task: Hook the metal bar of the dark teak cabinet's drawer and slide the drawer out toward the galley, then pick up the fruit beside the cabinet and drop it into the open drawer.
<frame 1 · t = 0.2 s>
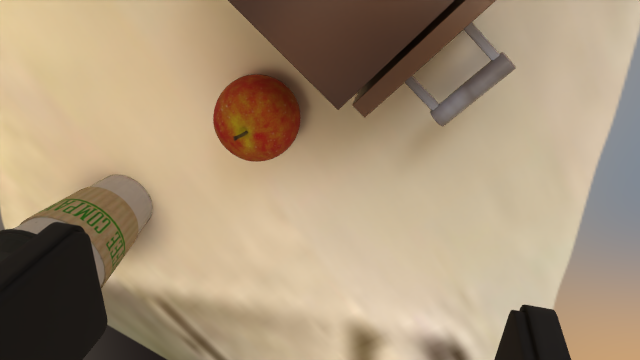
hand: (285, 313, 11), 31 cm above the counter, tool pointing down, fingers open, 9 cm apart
fruit: (271, 103, 42), on the counter
coffee cup: (126, 199, 51), on the counter
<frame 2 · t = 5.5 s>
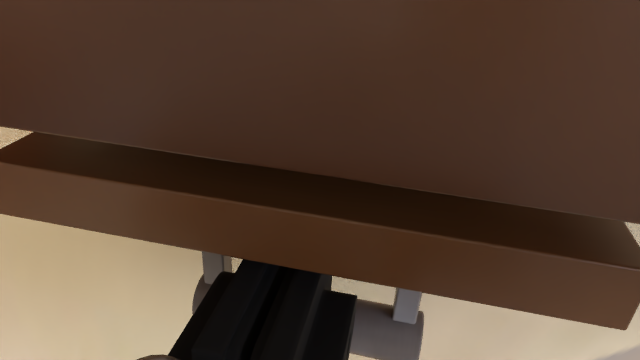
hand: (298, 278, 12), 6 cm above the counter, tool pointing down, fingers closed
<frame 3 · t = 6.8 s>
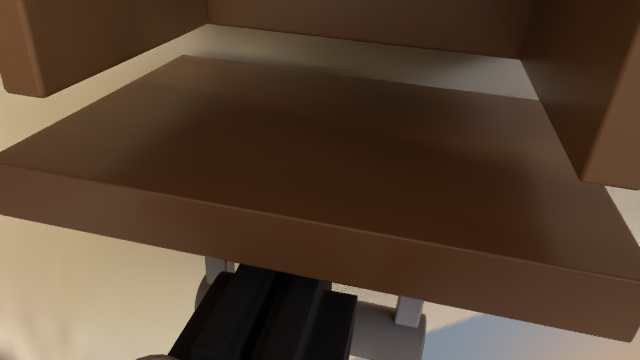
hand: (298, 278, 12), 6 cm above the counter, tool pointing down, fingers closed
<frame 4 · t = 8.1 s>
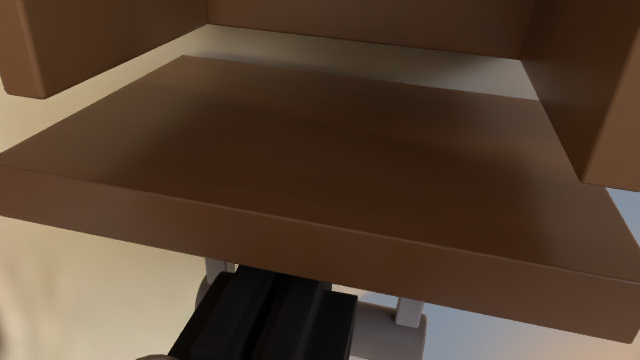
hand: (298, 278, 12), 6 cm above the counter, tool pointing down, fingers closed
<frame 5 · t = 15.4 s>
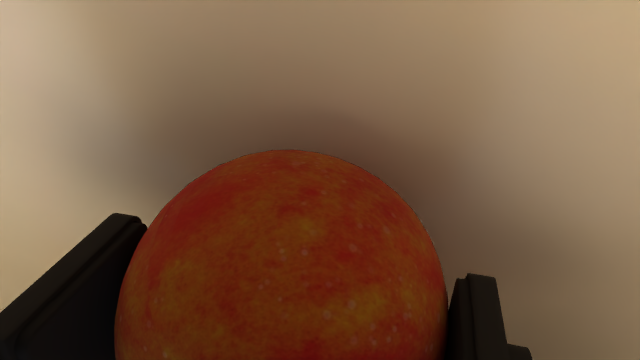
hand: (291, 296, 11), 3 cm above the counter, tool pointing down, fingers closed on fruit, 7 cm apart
fruit: (321, 219, 14), on the counter, touching gripper
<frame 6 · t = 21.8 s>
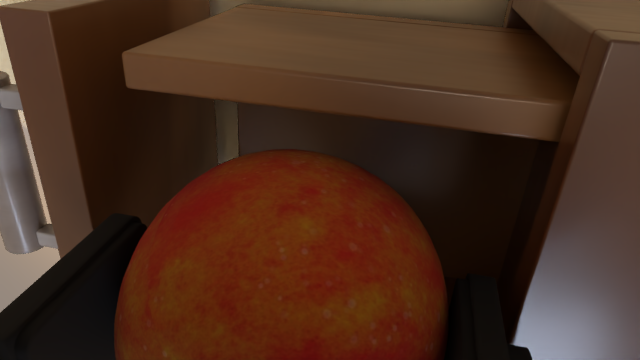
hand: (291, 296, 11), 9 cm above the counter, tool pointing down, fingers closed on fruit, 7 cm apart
drawer: (264, 191, 15), point 5 cm above the counter, slide at 9.9 cm
fruit: (321, 218, 14), point 6 cm above the counter, touching gripper
when the fingers open (11 cm above the counter, at t = 37.6 s): fruit drops 6 cm, resting on drawer.
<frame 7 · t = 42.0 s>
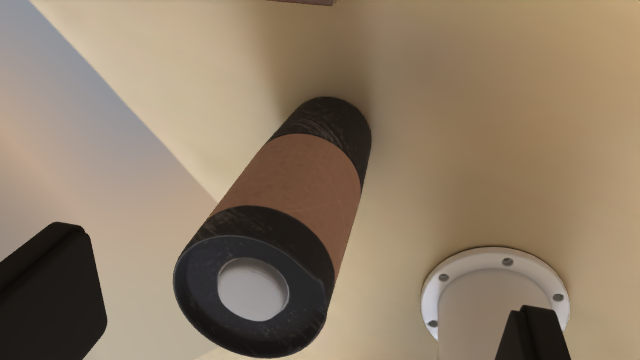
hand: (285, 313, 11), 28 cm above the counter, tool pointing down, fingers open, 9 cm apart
travel mug: (329, 136, 40), on the counter
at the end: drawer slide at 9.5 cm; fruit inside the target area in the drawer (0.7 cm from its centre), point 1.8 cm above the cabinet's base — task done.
